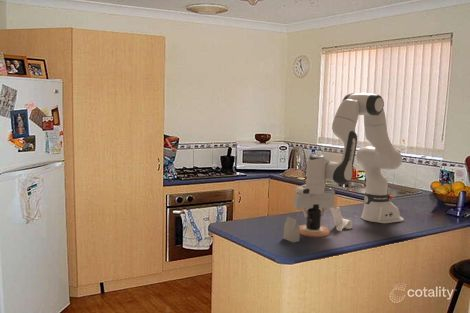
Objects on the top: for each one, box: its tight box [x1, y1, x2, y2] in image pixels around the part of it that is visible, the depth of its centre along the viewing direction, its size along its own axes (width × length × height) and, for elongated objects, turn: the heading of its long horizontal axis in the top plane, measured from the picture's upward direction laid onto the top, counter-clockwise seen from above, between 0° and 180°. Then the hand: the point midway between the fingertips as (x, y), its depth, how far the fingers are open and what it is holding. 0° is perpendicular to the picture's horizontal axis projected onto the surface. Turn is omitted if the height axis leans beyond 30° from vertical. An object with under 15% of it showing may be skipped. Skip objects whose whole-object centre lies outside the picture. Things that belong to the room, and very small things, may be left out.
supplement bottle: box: [305, 204, 322, 230], centre depth 239 cm, size 7×7×12 cm
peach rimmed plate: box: [299, 224, 331, 238], centre depth 240 cm, size 16×16×2 cm
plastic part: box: [330, 206, 353, 232], centre depth 248 cm, size 8×10×12 cm
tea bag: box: [283, 216, 301, 243], centre depth 226 cm, size 4×7×10 cm, turn 33°
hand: (313, 216), depth 239 cm, fingers closed on supplement bottle, 7 cm apart
